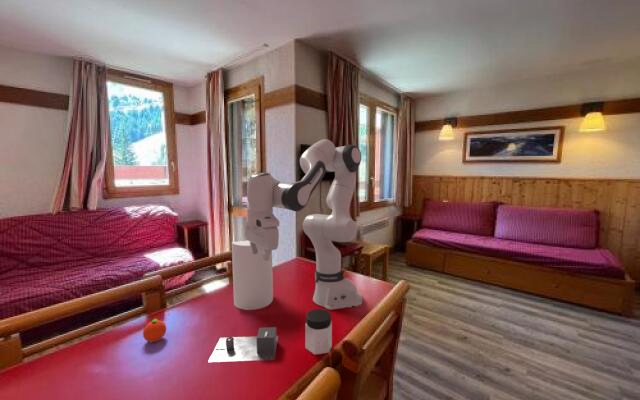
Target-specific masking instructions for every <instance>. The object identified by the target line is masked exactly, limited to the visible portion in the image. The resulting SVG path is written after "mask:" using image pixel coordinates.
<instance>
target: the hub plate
mask: <svg viewBox="0 0 640 400" xmlns="http://www.w3.org/2000/svg"><path fill="white" fill-rule="evenodd" d="M278 340H279V336H278V335H277V342H276V348H275V353H257V335H256V336H229V337H220V338H219V340H218V342H217V343H216V345H215V347H214V348H213V349H214V350H213V352H211V353H212V354H211V355H210V357H209V359H208V362H207V363H221V362H222V363H224V362H227V363H228V362H250V361H251V362H253V361H273V360H274V361H275V357H276V350H277V344H278Z"/></svg>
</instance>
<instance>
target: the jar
mask: <svg viewBox="0 0 640 400" xmlns="http://www.w3.org/2000/svg"><path fill="white" fill-rule="evenodd" d="M305 319H306V320H305V321H306V322H305V325H304V326H305V327H304V329H305V333H304V335H305V337H304V340H305V343H304V344H305V347H304V348H305V349H306V350H308V351H309V352H310V353H312V354H313V355H315V356H316V355H321V354H322V355H323V354H327V353H328V354H329V353H330V352H331V350H332V346H333V342H332V341H333V336H332V335H333V334H332V333H333V321H332V315H331V312H330V311H328V310H327V309H324V308H314V309H311V310H309V311H308V312H307V313H306V316H305Z"/></svg>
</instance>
